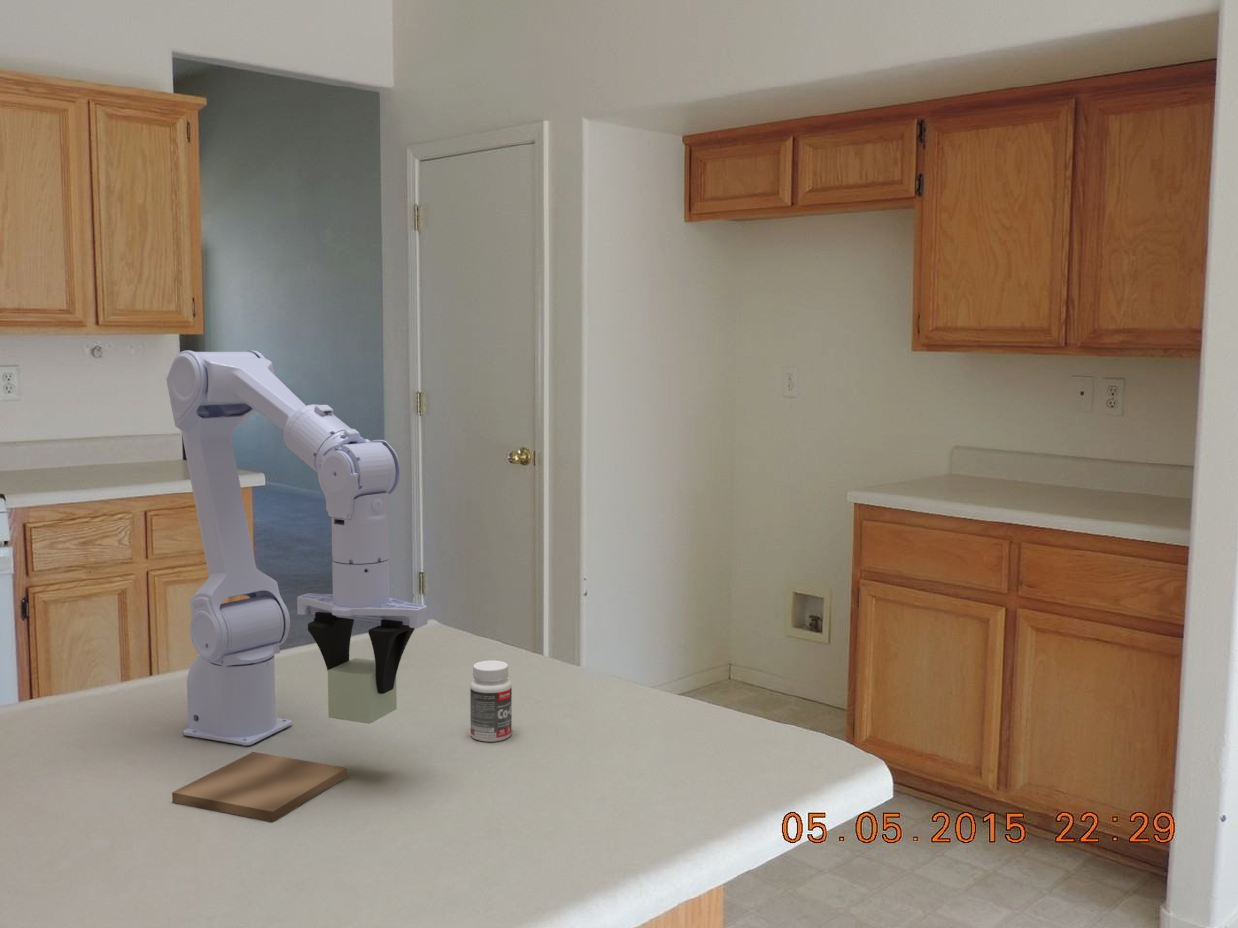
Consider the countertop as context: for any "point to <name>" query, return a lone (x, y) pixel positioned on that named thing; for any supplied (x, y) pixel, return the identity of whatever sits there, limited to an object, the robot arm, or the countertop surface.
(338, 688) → the sage cube
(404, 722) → the countertop surface
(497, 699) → the pill bottle
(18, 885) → the countertop surface
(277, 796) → the walnut pad
